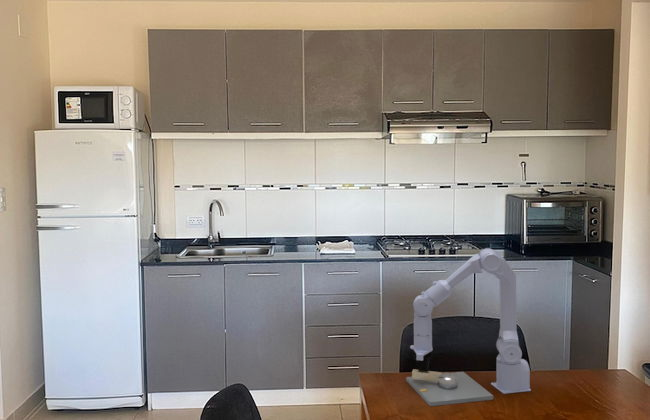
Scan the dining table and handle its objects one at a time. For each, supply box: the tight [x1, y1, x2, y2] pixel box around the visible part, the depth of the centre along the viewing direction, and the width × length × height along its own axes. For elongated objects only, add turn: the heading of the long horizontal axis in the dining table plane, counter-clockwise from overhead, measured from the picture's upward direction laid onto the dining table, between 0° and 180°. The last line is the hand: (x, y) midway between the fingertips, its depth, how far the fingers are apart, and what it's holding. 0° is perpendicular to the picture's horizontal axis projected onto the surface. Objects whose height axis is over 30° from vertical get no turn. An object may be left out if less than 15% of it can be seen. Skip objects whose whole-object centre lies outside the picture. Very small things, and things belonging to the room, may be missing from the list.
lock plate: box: [405, 371, 494, 407], centre depth 170 cm, size 20×20×2 cm
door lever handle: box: [411, 368, 458, 389], centre depth 172 cm, size 14×6×4 cm, turn 69°
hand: (423, 375), depth 175 cm, fingers closed
